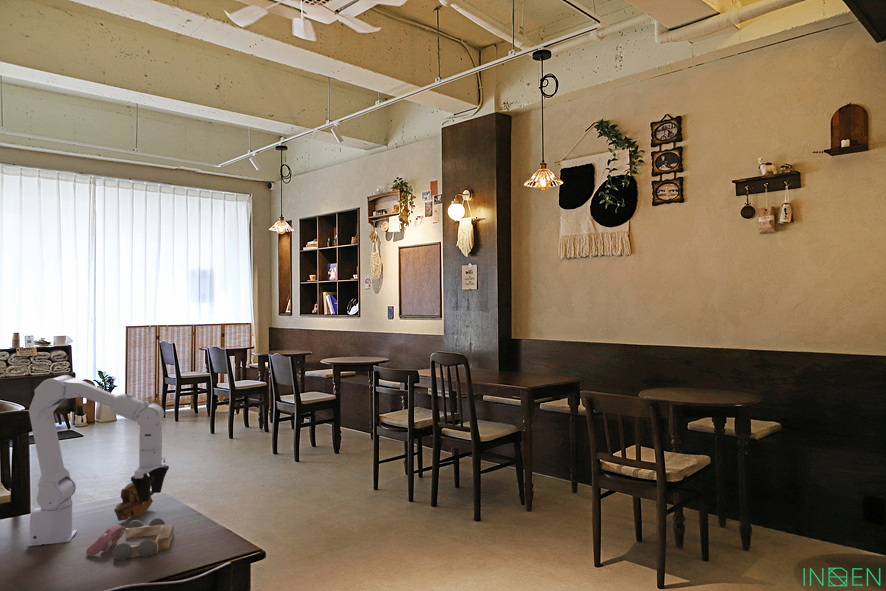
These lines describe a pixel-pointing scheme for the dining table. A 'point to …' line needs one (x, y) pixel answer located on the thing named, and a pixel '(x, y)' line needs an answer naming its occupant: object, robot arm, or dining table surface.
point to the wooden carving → (131, 503)
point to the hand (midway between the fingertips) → (150, 496)
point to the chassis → (146, 546)
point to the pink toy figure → (106, 540)
